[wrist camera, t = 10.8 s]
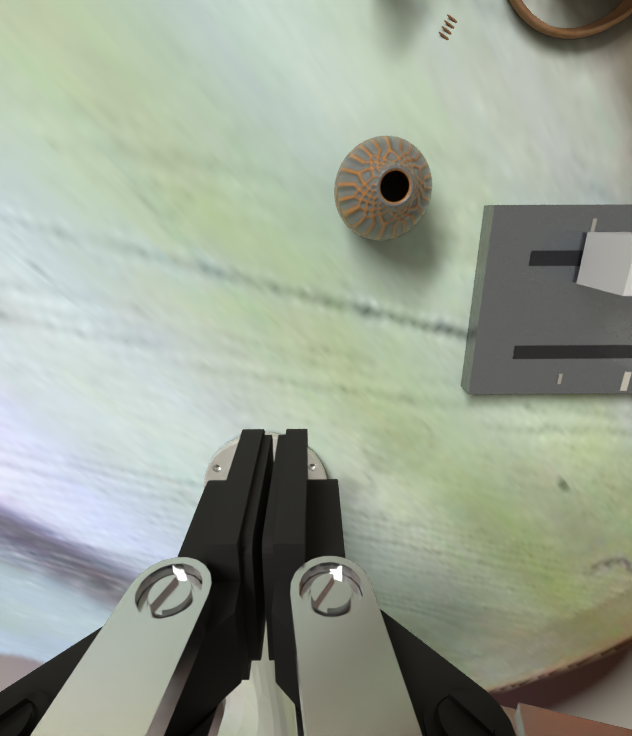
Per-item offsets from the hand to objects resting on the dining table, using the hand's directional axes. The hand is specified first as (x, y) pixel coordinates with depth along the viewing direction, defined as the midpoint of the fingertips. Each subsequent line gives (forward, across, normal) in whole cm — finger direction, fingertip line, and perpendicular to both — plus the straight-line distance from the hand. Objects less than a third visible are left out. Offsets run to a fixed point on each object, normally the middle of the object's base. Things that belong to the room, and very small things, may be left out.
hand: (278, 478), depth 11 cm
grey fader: (+25, -24, -3) cm, 35 cm away
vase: (+27, -6, -8) cm, 29 cm away
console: (+27, -27, +1) cm, 38 cm away
